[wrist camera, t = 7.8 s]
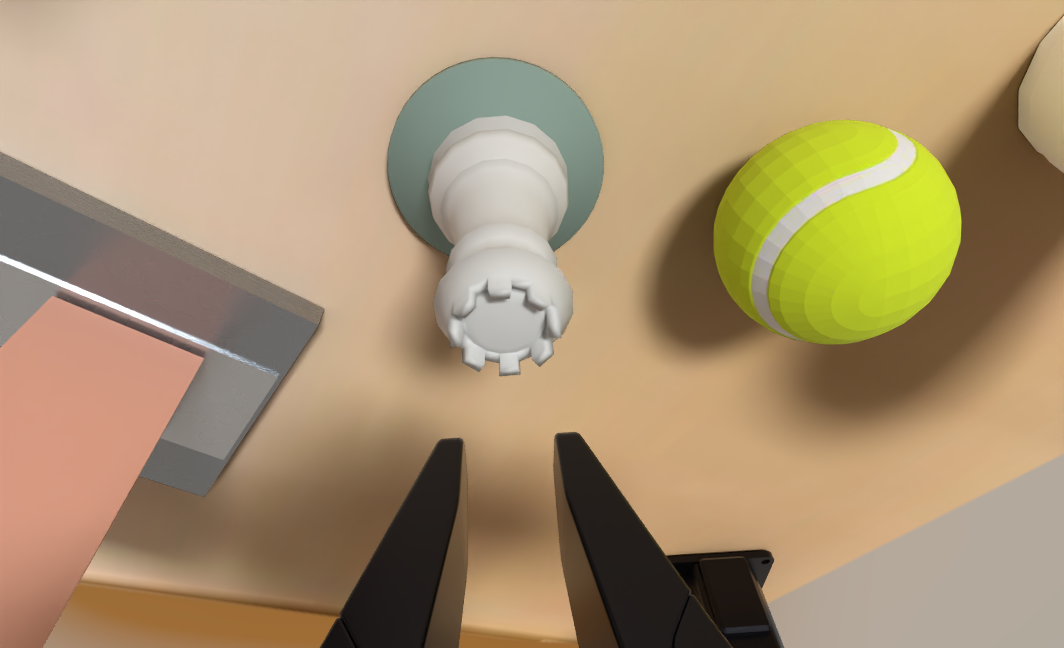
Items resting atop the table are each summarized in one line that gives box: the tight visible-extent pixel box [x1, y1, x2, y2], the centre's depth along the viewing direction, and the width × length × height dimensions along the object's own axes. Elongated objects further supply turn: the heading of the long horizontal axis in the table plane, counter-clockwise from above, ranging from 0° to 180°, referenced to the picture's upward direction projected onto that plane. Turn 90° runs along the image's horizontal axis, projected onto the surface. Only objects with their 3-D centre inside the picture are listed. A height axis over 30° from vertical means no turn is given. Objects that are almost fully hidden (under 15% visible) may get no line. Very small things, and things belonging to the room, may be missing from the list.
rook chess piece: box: [428, 116, 573, 376], centre depth 16 cm, size 4×4×8 cm
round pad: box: [387, 57, 604, 256], centre depth 20 cm, size 7×7×1 cm
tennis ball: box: [714, 120, 962, 344], centre depth 18 cm, size 7×7×7 cm
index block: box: [0, 296, 204, 648], centre depth 18 cm, size 5×5×12 cm
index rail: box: [0, 152, 324, 497], centre depth 20 cm, size 16×12×5 cm
